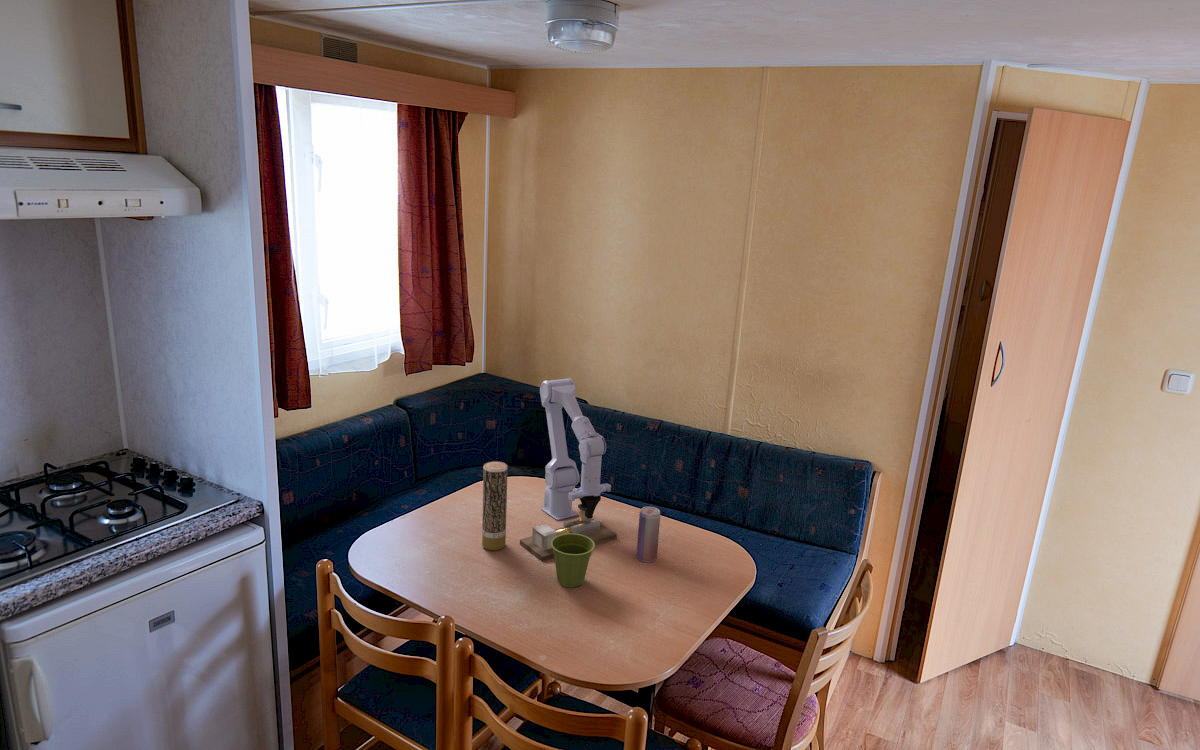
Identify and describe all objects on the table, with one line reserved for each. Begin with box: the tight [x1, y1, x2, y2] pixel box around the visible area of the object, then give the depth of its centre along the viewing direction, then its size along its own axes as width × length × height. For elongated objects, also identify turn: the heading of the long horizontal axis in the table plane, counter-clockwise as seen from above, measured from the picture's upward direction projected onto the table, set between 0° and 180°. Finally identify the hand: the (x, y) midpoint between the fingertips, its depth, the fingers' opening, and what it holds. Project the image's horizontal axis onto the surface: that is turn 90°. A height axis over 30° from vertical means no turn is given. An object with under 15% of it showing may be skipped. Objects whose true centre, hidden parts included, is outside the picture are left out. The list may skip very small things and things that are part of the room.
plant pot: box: [551, 533, 596, 588], centre depth 200 cm, size 12×12×11 cm
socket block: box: [531, 523, 558, 550], centre depth 217 cm, size 6×4×4 cm
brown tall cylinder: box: [481, 461, 509, 551], centre depth 215 cm, size 7×7×25 cm
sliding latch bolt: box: [556, 503, 587, 535], centre depth 222 cm, size 3×11×8 cm, turn 127°
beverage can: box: [635, 505, 661, 563], centre depth 214 cm, size 6×6×15 cm
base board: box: [519, 518, 618, 562], centre depth 223 cm, size 12×27×2 cm, turn 127°
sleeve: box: [563, 515, 601, 536], centre depth 225 cm, size 5×10×4 cm, turn 127°
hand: (588, 517), depth 226 cm, fingers closed
